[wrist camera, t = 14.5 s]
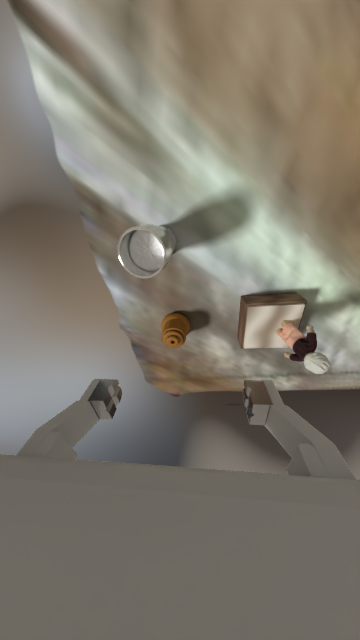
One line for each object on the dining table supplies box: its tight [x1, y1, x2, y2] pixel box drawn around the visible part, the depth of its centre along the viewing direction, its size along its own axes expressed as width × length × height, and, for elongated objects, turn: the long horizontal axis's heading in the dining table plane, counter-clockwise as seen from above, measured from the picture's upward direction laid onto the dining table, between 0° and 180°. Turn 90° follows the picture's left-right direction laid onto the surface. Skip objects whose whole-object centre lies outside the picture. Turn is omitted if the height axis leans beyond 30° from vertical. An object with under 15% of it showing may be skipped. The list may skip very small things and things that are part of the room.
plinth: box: [238, 293, 307, 348], centre depth 40 cm, size 12×12×5 cm
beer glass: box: [118, 224, 176, 278], centre depth 29 cm, size 7×7×15 cm
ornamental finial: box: [161, 313, 190, 348], centre depth 42 cm, size 8×8×8 cm
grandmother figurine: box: [276, 320, 330, 374], centre depth 32 cm, size 8×4×13 cm, turn 176°
